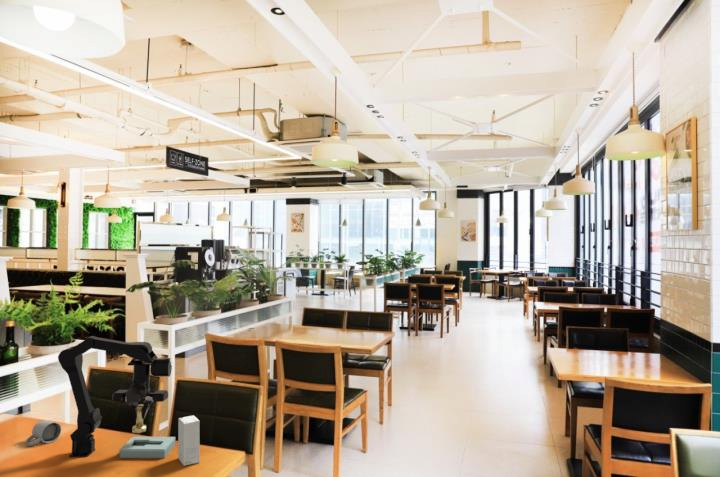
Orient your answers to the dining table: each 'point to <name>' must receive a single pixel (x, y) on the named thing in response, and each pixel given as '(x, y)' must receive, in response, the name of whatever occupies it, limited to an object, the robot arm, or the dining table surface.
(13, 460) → the dining table surface
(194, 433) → the skincare box
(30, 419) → the dining table surface
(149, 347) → the robot arm
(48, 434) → the ceramic mug
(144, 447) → the keyhole plate
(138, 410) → the brass door knob
